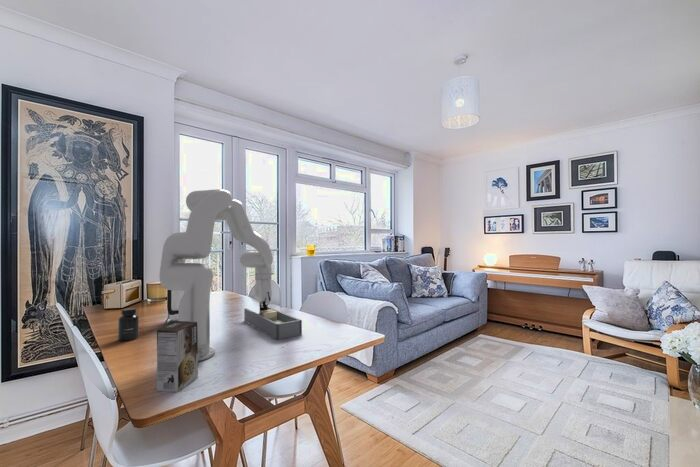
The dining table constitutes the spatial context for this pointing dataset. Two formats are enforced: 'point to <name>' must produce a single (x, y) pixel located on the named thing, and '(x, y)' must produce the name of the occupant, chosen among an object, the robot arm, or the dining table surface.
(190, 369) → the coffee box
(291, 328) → the trap box
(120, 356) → the dining table surface
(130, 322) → the supplement bottle
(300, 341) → the dining table surface
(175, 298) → the coffee press
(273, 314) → the beech block
